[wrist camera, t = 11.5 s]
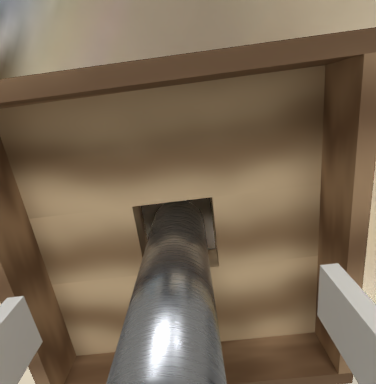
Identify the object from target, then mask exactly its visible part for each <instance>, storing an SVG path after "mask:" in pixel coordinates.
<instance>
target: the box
mask: <svg viewBox="0 0 376 384" xmlns="http://www.w3.org/2000/svg"><path fill="white" fill-rule="evenodd" d="M375 161H376V27H375V28H368V29H360V30H353V31H346V32H339V33H331V34H324V35H317V36H310V37H302V38H295V39H288V40H281V41H273V42H266V43H259V44H252V45H244V46H237V47H230V48H223V49H215V50H208V51H201V52H194V53H186V54H179V55H172V56H165V57H158V58H150V59H143V60H136V61H129V62H121V63H114V64H107V65H100V66H92V67H85V68H78V69H71V70H63V71H56V72H49V73H42V74H34V75H27V76H20V77H13V78H5V79H0V303H1V304H2V303H3V302H4V301H5V300H6V298H9V297H19V296H24V298H25V300H26V303H27V305H28V308H29V310H30V312H31V315H32V317H33V320H34V322H35V324H36V327H37V329H38V332H39V334H40V336H41V339H42V341H43V342H42V344H41V345H40V347H39V349H38V350H37V352H36V354H35V355H34V357H33V359H32V360H31V362H30V364H29V366H28V367H29V370H30V372H31V374H32V376H33V379H34V381H35V383H36V384H106V382H107V379H108V376H109V372H110V369H111V365H112V362H113V358H114V355H115V351H116V348H117V344H118V341H119V338H120V334H121V331H122V327H123V324H124V320H125V317H126V313H127V310H128V306H129V303H130V300H131V296H132V293H133V289H134V286H135V282H136V279H137V275H138V272H139V269H140V265H141V262H142V258H143V255H144V251H145V248H146V244H147V236H146V231H145V226H144V220H143V215H142V210H141V206H142V205H150V204H159V203H167V202H176V201H184V200H193V199H201V198H211V208H212V218H213V227H214V237H215V247H216V249H210V250H208V256H209V263H210V270H211V277H212V284H213V291H214V298H215V305H216V312H217V319H218V326H219V333H220V339H221V346H222V353H223V360H224V367H225V374H226V381H227V384H346V383H352V380H353V374H352V372H351V370H350V369H349V367H348V365H347V364H346V362H345V360H344V359H343V357H342V355H341V354H340V352H339V350H338V349H337V347H336V345H335V344H334V342H333V340H332V339H331V337H330V335H329V334H328V332H327V330H326V329H325V327H324V325H323V324H322V322H321V320H320V319H319V317H318V315H317V311H318V293H319V274H320V265H325V264H335V263H338V264H339V265H340V266H341V267H342V268H343V269H344V270H345V271H346V272H347V273H348V274H349V276H350V277H351V278H352V279H353V280H354V281H355V282H356V283H357V284H358V285H359V286H360V288H361V289H362V285H363V275H364V266H365V256H366V247H367V237H368V228H369V218H370V209H371V199H372V190H373V180H374V170H375Z"/></svg>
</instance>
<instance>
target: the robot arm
mask: <svg viewBox="0 0 376 384" xmlns="http://www.w3.org/2000/svg"><path fill="white" fill-rule="evenodd" d="M317 315H318V317H319V319H320V320H321V322H322V324H323V325H324V327H325V329H326V330H327V332H328V334H329V335H330V337H331V339H332V340H333V342H334V344H335V345H336V347H337V349H338V350H339V352H340V354H341V355H342V357H343V359H344V360H345V362H346V364H347V365H348V367H349V369H350V370H351V372H352V374H353V375H354V377H355V379H356V380H357V382H358V384H376V304H375V303H374V302H373V301H372V300H371V298H370V297H369V296H368V295H367V294H366V293H365V292H364V291H363V290H362V289H361V288H360V286H359V285H358V284H357V283H356V282H355V281H354V280H353V279H352V278H351V277H350V276H349V274H348V273H347V272H346V271H345V270H344V269H343V268H342V267H341V266H340V265H339V264H338V263H335V264H325V265H320V274H319V293H318V311H317ZM42 342H43V341H42V339H41V336H40V334H39V332H38V329H37V327H36V324H35V322H34V320H33V317H32V315H31V312H30V310H29V308H28V305H27V303H26V300H25V298H24V296H19V297H9V298H6V300H5V301H4V302H3V303H2V304H1V305H0V384H18V382H19V381H20V379H21V377H22V376H23V374H24V372H25V371H26V369H27V367H28V366H29V364H30V362H31V360H32V359H33V357H34V355H35V354H36V352H37V350H38V349H39V347H40V345H41V344H42Z"/></svg>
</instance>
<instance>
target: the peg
mask: <svg viewBox="0 0 376 384" xmlns="http://www.w3.org/2000/svg"><path fill="white" fill-rule="evenodd" d="M106 384H227V381H226V374H225V367H224V360H223V353H222V346H221V339H220V333H219V326H218V319H217V312H216V305H215V298H214V291H213V284H212V277H211V270H210V263H209V256H208V249H207V242H206V235H205V228H204V221H203V216H202V214H201V212H200V210H199V209H198V208H197V207H196V206H195V205H194V204H192V203H190V202H188V201H185V200H184V201H176V202H167V203H165V204H163V205H162V206H161V207H160V208H159V209H158V210H157V212H156V214H155V217H154V220H153V224H152V227H151V231H150V234H149V237H148V241H147V244H146V248H145V251H144V255H143V258H142V262H141V265H140V269H139V272H138V275H137V279H136V282H135V286H134V289H133V293H132V296H131V300H130V303H129V306H128V310H127V313H126V317H125V320H124V324H123V327H122V331H121V334H120V338H119V341H118V344H117V348H116V351H115V355H114V358H113V362H112V365H111V369H110V372H109V376H108V379H107V382H106Z"/></svg>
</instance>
